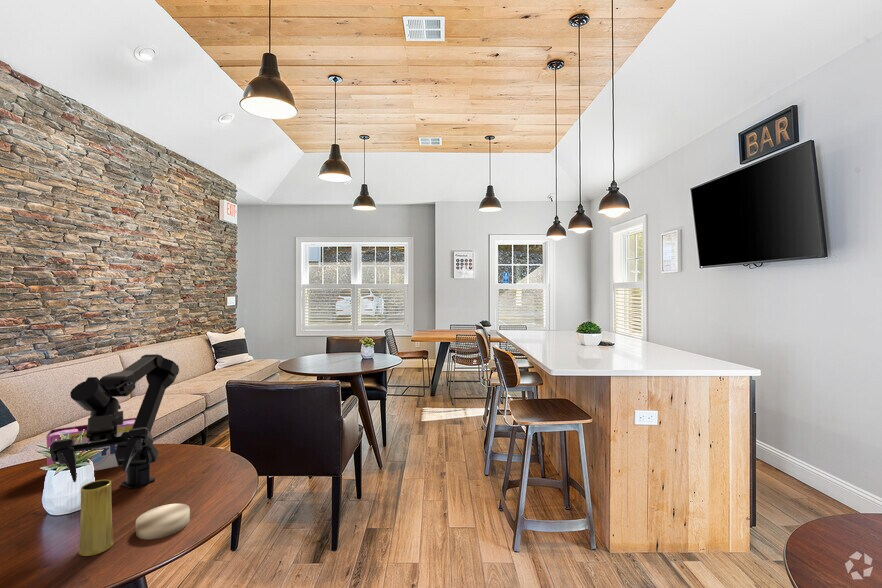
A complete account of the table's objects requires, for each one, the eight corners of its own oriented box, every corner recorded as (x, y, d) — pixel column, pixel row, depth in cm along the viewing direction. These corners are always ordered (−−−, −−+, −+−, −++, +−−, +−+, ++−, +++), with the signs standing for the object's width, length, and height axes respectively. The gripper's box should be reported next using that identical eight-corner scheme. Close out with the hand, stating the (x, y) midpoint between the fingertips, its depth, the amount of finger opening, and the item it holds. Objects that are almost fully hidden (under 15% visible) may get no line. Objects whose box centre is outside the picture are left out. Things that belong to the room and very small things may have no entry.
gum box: (142, 454, 147) (142, 416, 147) (142, 462, 140) (142, 422, 140) (51, 471, 133) (50, 429, 133) (45, 480, 127) (45, 436, 127)
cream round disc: (125, 532, 99) (125, 520, 99) (173, 511, 109) (173, 499, 109) (152, 545, 94) (152, 532, 94) (199, 521, 104) (199, 509, 104)
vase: (92, 540, 96) (91, 479, 96) (120, 539, 96) (120, 478, 96) (71, 557, 90) (70, 491, 90) (101, 556, 90) (100, 490, 90)
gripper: (50, 407, 98) (41, 470, 89) (147, 396, 109) (147, 451, 100) (57, 431, 105) (48, 492, 96) (148, 418, 115) (147, 472, 106)
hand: (99, 476), depth 99 cm, fingers open, 9 cm apart
